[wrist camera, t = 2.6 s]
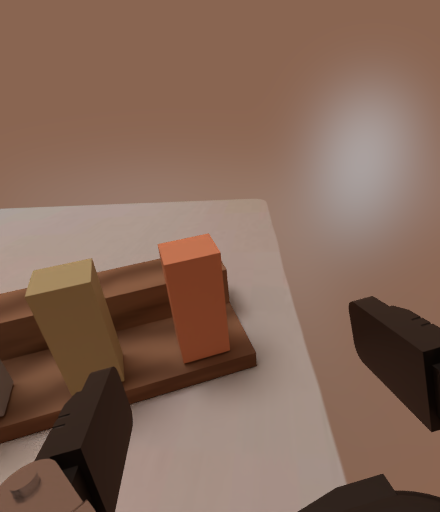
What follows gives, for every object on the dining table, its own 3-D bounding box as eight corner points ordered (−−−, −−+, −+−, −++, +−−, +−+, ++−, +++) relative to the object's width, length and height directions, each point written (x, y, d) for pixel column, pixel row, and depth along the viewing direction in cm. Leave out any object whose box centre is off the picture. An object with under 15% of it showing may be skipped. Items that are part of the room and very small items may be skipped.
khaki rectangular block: (124, 380, 34) (90, 281, 28) (71, 396, 33) (24, 296, 27) (122, 352, 37) (92, 258, 31) (74, 365, 36) (33, 270, 30)
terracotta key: (230, 350, 36) (220, 252, 30) (183, 363, 35) (164, 265, 29) (219, 325, 39) (208, 233, 33) (176, 337, 38) (157, 244, 32)
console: (256, 365, 37) (254, 316, 33) (-80, 467, 30) (-127, 419, 27) (217, 289, 49) (212, 246, 46) (-27, 349, 43) (-54, 305, 39)
